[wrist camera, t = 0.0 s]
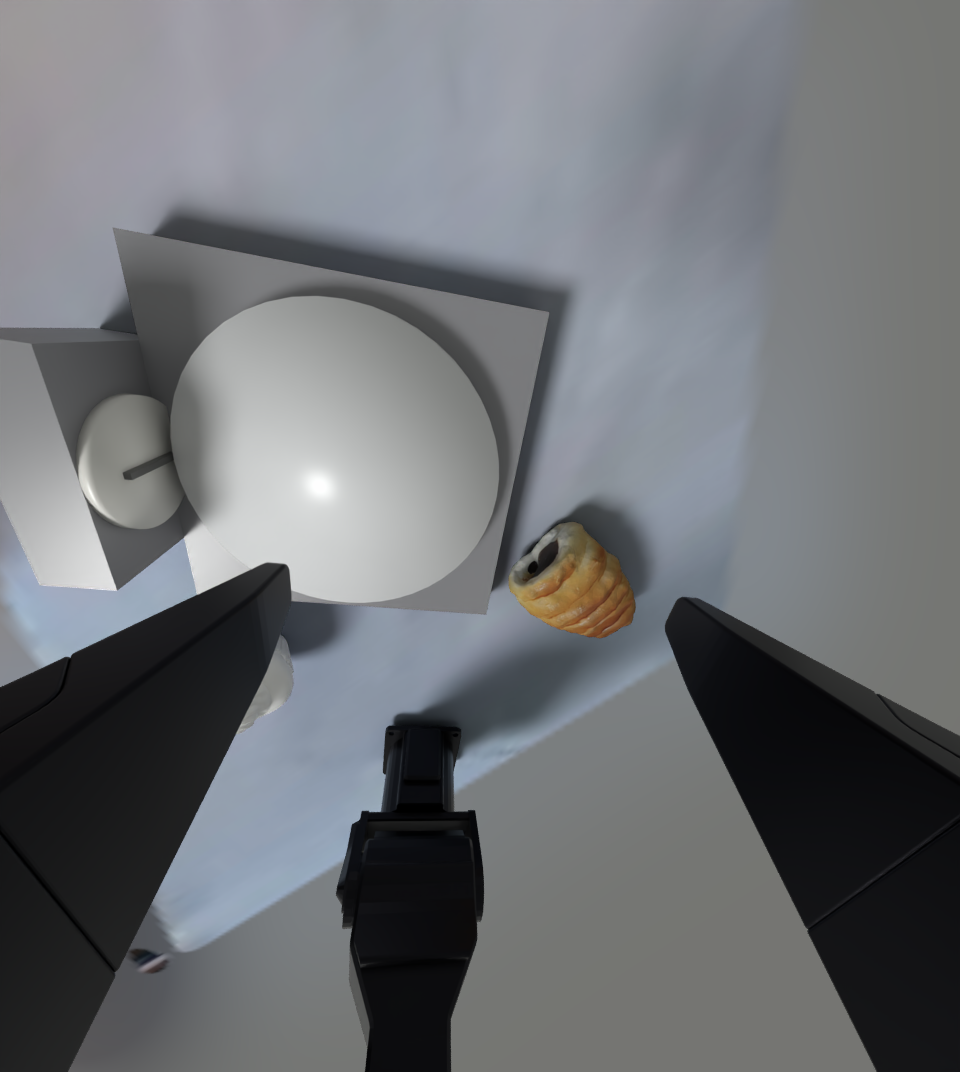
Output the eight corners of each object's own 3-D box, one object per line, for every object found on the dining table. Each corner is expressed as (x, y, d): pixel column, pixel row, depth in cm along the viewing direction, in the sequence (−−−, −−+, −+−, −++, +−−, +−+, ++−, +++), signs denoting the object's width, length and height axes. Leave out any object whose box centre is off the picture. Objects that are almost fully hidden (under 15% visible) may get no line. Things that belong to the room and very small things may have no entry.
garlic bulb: (296, 681, 30) (258, 770, 24) (212, 659, 28) (148, 750, 22) (319, 625, 28) (283, 710, 22) (228, 599, 26) (162, 682, 20)
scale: (483, 596, 28) (494, 672, 21) (164, 572, 25) (70, 652, 18) (539, 313, 19) (584, 306, 13) (69, 223, 16) (-157, 158, 10)
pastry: (649, 584, 28) (677, 618, 24) (580, 639, 30) (597, 677, 26) (565, 508, 24) (584, 535, 21) (493, 576, 26) (501, 610, 23)
